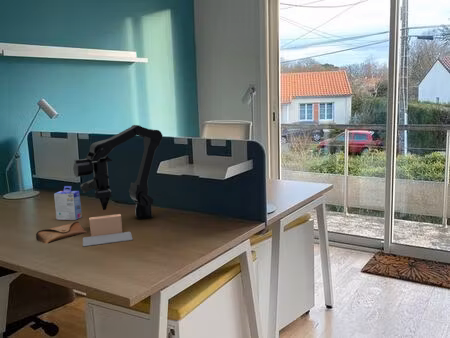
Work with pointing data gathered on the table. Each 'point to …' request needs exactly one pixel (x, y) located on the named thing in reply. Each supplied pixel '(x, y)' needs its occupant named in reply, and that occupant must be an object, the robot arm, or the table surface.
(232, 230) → the table surface
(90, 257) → the table surface
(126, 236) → the mat
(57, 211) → the ink cartridge box
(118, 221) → the beige rectangular block
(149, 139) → the robot arm
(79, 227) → the sunglasses case
